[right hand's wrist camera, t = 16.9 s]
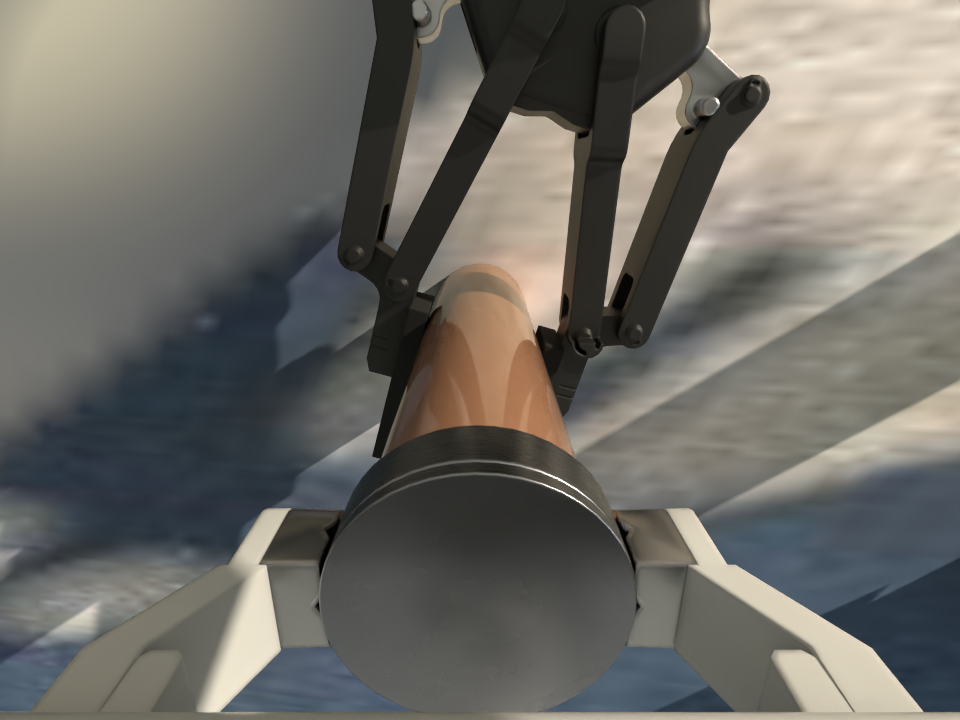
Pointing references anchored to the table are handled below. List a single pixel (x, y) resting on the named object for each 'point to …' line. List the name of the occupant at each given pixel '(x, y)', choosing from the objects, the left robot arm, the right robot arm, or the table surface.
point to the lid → (478, 575)
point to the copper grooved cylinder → (479, 364)
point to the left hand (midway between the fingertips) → (446, 456)
